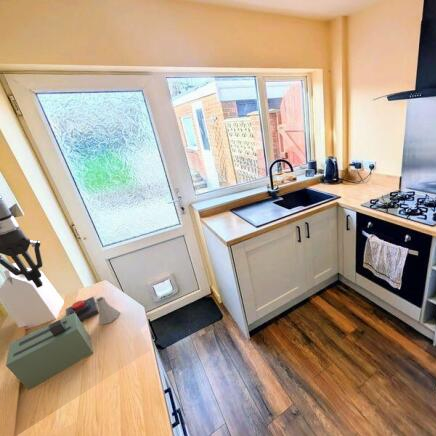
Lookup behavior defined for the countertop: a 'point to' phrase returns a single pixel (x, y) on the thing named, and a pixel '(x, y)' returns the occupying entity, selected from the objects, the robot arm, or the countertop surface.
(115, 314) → the flask
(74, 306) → the power button
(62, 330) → the toaster slider
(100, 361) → the countertop surface
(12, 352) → the toaster
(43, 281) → the milk
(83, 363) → the countertop surface
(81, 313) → the block
